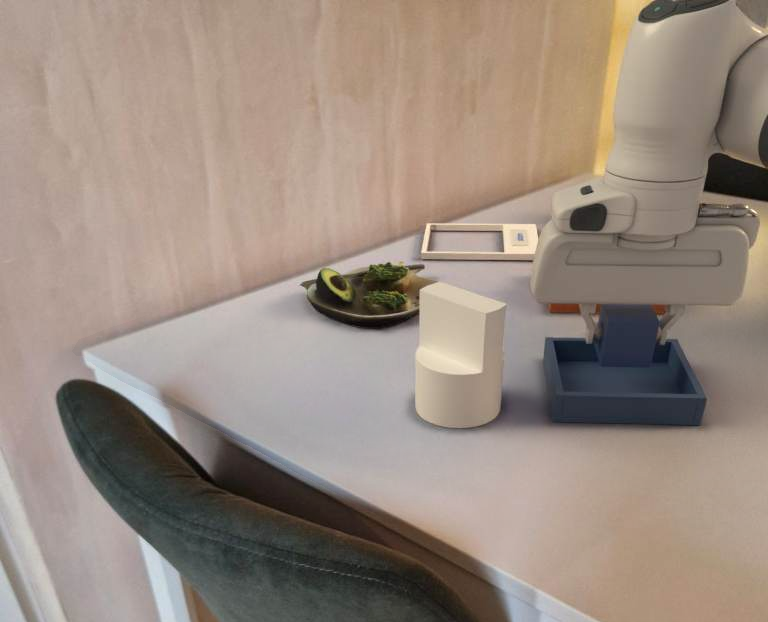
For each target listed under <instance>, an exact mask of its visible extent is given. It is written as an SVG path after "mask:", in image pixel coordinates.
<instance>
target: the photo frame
mask: <svg viewBox="0 0 768 622" xmlns="http://www.w3.org/2000/svg"><path fill="white" fill-rule="evenodd" d="M425 225H426V226H425V231H424V236H423V241H422V246H421V252H420V259H421V260H472V261H473V260H475V261H476V260H480V261H481V260H482V261H483V260H484V261H487V260H488V261H489V260H490V261H492V260H493V261H533V260H534V255H535V251H536V247H537V243H538V239H539V235H538V230H537V224H536V223H436V222H435V223H428V222H427V223H426V224H425ZM431 231H459V232H460V231H463V232H464V231H466V232H467V231H468V232H469V231H471V232H472V231H473V232H481V231H482V232H487V231H488V232H502V240H503V241H502V242H503V251H501V252H500V251H428V247H429V240H430V236H431Z"/></svg>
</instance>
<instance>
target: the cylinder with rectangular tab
mask: <svg viewBox="0 0 768 622" xmlns="http://www.w3.org/2000/svg"><path fill="white" fill-rule="evenodd" d="M506 310H507V303H505V302H502V301H499V300H496V299H493V298H490V297H487V296H484V295H481V294H478V293H475V292H472V291H469V290H466V289H462V288H461V287H460V288H459V287H456V286H453V285H451V284H447V283H445V282H441V281H438V282H437V283H434V284H431V285H428V286H426V287H424V288H422V289H420V313H418V315H419V316H418V317H419V326H418V327H419V333H418V337H419V341H418V342H419V345H418V347H417V348H416V351H415V354H414V367H415V368H414V371H415V372H414V398H415V399H414V405H415V406H414V407H415V411H416V413H417V414H418V415H419V416H420V418H421V419H423V420H424V421H426V422H427V423H430V424H432V425H435V426H438V427H443V428H448V429H471V428H475V427H479V426H483V425H485V424H486V425H487V424H488V423H490V422H492V421H493V420H495V418H497V417H498V416H499V414H500V412H501V404H502V391H503V379H504V365H505V352H504V340H505V339H504V338H505V327H506Z"/></svg>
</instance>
